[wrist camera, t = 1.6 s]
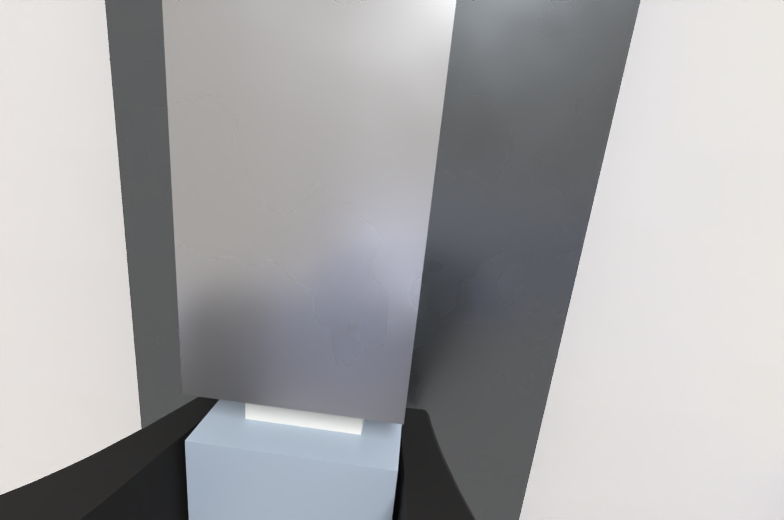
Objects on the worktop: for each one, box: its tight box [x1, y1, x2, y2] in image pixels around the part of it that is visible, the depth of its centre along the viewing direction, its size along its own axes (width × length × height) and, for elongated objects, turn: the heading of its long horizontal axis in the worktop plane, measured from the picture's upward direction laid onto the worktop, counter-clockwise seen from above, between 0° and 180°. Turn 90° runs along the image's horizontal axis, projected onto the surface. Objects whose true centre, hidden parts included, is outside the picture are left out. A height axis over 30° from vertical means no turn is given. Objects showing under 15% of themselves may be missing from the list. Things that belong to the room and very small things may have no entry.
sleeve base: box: [105, 0, 640, 520], centre depth 10 cm, size 12×28×5 cm, turn 174°
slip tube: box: [185, 399, 402, 520], centre depth 9 cm, size 4×16×4 cm, turn 174°
